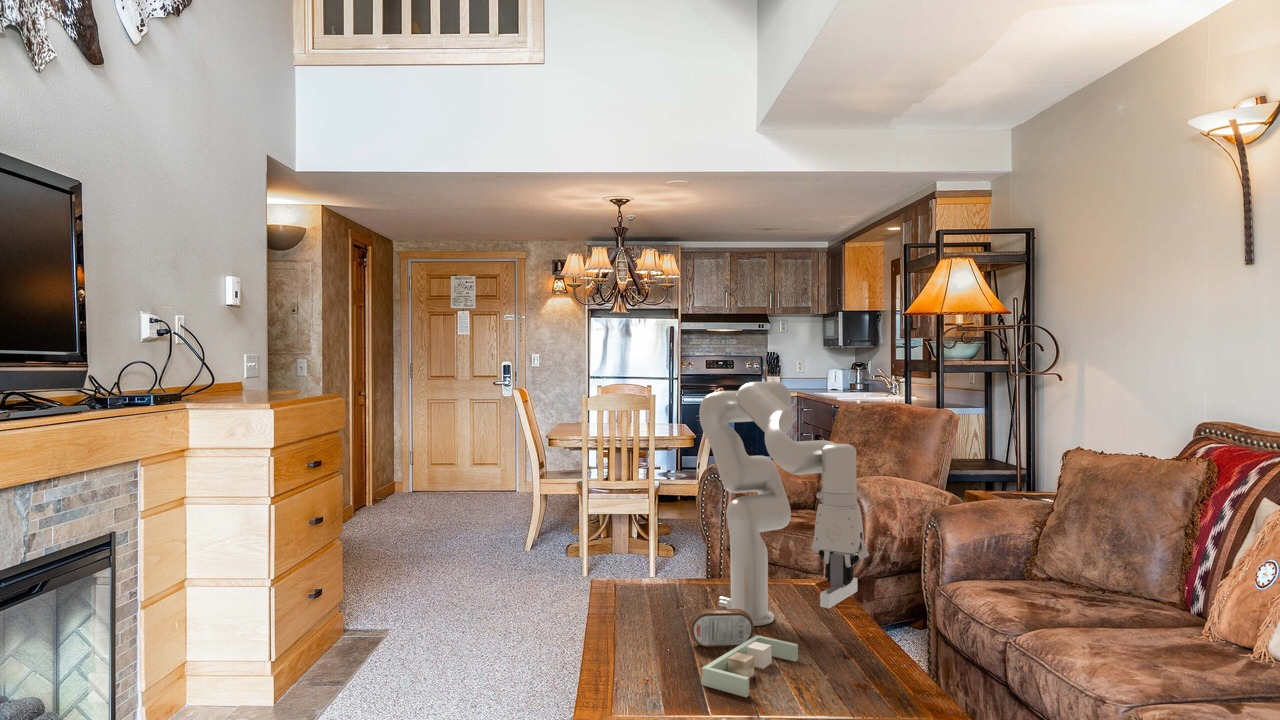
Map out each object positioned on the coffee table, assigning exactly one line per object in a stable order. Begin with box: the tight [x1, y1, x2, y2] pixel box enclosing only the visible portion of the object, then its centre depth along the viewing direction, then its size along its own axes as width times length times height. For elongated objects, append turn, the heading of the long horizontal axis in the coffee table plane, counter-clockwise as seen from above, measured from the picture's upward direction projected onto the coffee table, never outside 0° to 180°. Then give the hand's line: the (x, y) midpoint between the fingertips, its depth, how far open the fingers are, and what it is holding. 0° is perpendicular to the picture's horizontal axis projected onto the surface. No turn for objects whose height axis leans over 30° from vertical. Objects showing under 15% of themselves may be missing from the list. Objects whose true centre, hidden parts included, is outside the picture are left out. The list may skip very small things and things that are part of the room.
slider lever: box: [819, 552, 858, 609], centre depth 172 cm, size 3×16×10 cm, turn 143°
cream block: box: [747, 642, 773, 670], centre depth 169 cm, size 4×4×4 cm
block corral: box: [701, 634, 799, 698], centre depth 164 cm, size 10×24×4 cm, turn 144°
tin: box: [688, 608, 755, 648], centre depth 180 cm, size 15×3×8 cm, turn 94°
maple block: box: [728, 652, 755, 679], centre depth 162 cm, size 4×4×4 cm
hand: (839, 581), depth 172 cm, fingers closed on slider lever, 3 cm apart
